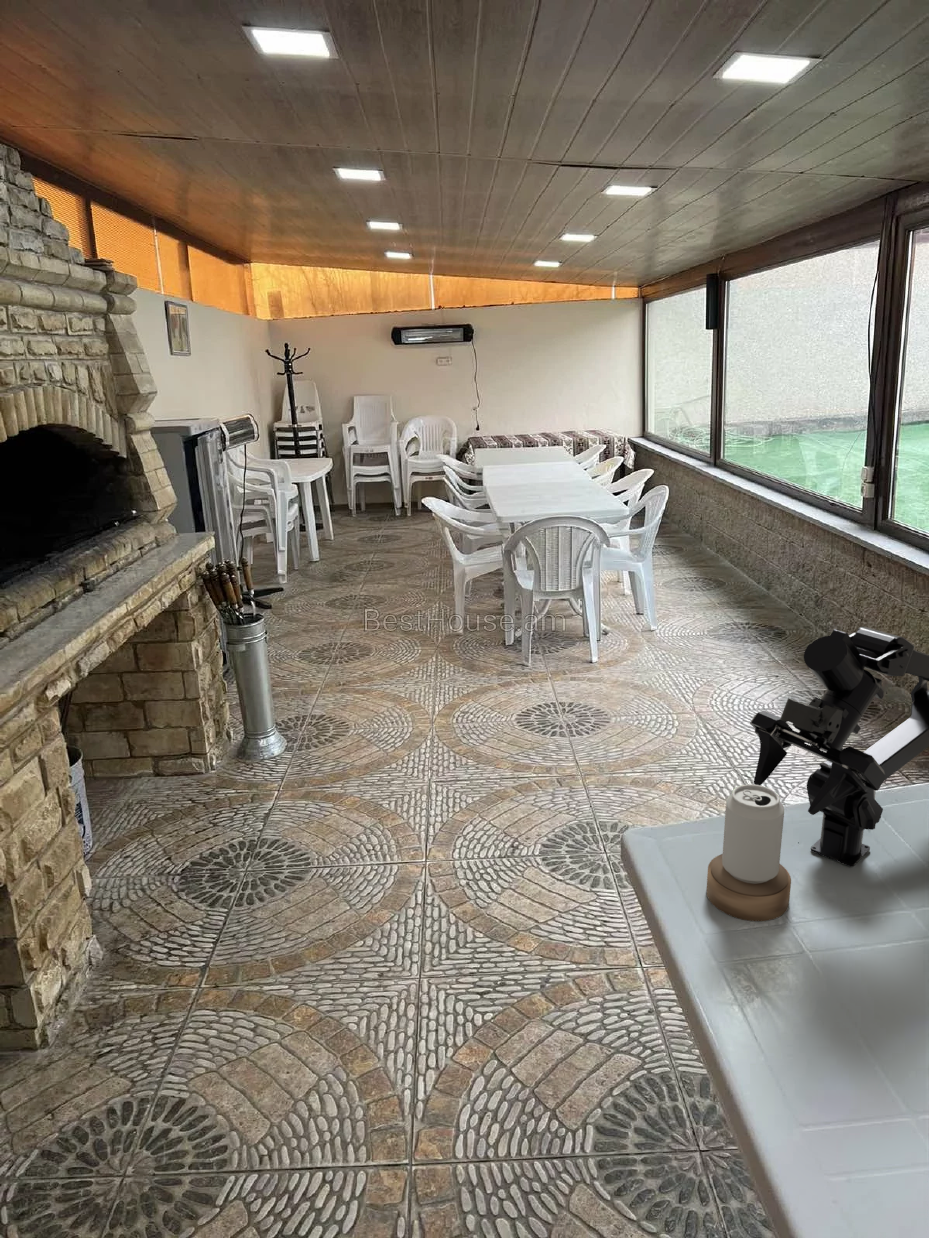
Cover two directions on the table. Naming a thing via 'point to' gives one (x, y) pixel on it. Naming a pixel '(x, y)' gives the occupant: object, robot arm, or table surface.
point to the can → (753, 833)
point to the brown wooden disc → (748, 894)
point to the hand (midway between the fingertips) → (782, 798)
